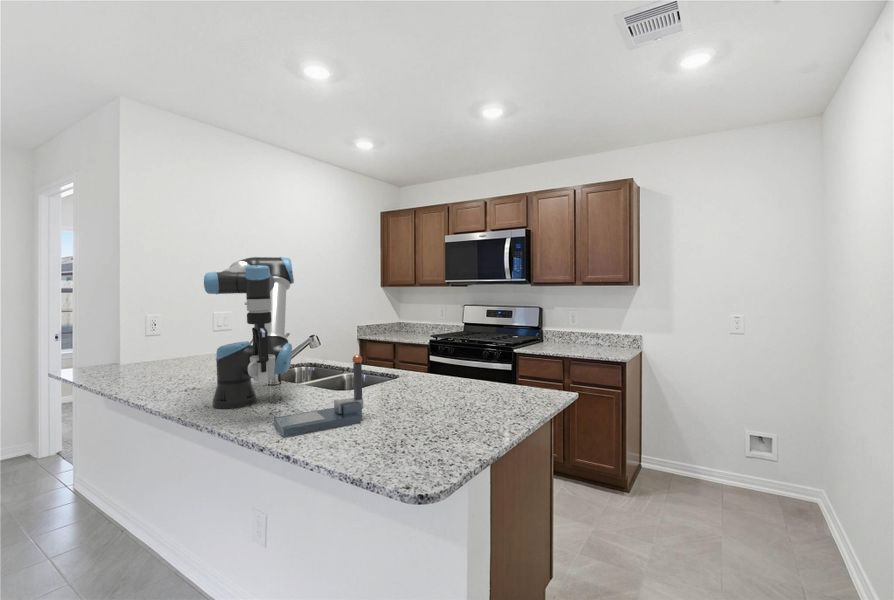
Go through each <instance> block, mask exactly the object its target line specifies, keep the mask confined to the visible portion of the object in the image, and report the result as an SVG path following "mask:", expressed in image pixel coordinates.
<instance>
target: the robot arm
mask: <svg viewBox="0 0 894 600" xmlns="http://www.w3.org/2000/svg"><path fill="white" fill-rule="evenodd" d="M293 273H294V272H293V266H292V260H291V258H289V257H283V256H279V257H278V256H277V257H273V256H272V257H270V256H269V257H267V256H265V257H262V256H261V257H260V256H259V257H258V256H253V257H252V256H251V257H247V258H243V259H240V260H237V261H234V262H233V263H231V265H230V266H229V267H228V268H227V269H224V270H222V271H220V272H219V271H212V272H207V273H205V275H204V276H203V277H204V278H203V288H204V291H205V292H206V293H207V294H209V295H211V294H212V295H222V294H223V295H224V294H225V295H228V294H230V295H231V294H232V295H233V294H246V296H245V297H246V302H244V305H245V306H246V311H247V314H246V323H247V324H248V325H254V326H253V327H252V328H251V331H252V344H251V341H246V340H245V341H237V342H232V343H228V344H224V345H221V346H219V347H218V348H216V349H217V350H216V356H215V357H216V358H215V362H216V382H217V386H216V389H215V392H214V395H213V398H212V407H213V408H215V409H236V408H242V407H247V406H250V405H253V404H255V403H256V402H257V394H256V391H255V389H254V387H253V383H252V376H250V375H249V374H248V365H249V364H250V357H251V356H255V355H259V361H257V363H258V371H259V381H258V383H266V382H269V380H268V365H267V362H268V361H269V357H268V354H270V355H275V368H274V375H278V374H285V373H287V372H288V371H289V369H290V367H291V362H292V356H293V355H292V354H293V353H292V352H293V345H292V343H290V342H289V340H288V338H287V337H285V333H286V331H285V330H286V329H285V328H286V309H287V308H286V305H287V304H286V302H287V290H289V289H290V287H291V285H292V284H294V283H295V280H294V274H293ZM263 357H265V358H263Z"/></svg>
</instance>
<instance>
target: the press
mask: <svg viewBox="0 0 894 600" xmlns="http://www.w3.org/2000/svg"><path fill="white" fill-rule="evenodd" d="M362 421H363V409H362V404H361V403H360V402H359V403H353V404H347V405H342V413H341V414H338V413H337V412H336V411H334V407H329V408H324V409H316V410H312V411H306V412H299V413H293V414H287V415H283V416H276V417H273V426H274V427H275V429H276V430H277V431H278V432H279V434H280V435H281V436H282V438H285V439H286V438H289V437H294V436H299V435H305V434H311V433H316V432H321V431H326V430H332V429H337V428H342V427H347V426H352V425H356V424H361V422H362Z"/></svg>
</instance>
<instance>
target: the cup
mask: <svg viewBox="0 0 894 600" xmlns="http://www.w3.org/2000/svg"><path fill="white" fill-rule="evenodd" d="M268 357H269V361H268V362H267V365H268V381H270V380H272V379H273V378H274V377H275V376H274V375H275V374H274V368H275V355H270V354H268ZM263 358H265V357H263ZM257 361H259V355H255V356H251V357H250V364H249V365H248V374H249V375H250V376H251V378H252V380H254V381H256V382H259V371H258V363H257Z"/></svg>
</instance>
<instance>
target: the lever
mask: <svg viewBox="0 0 894 600" xmlns="http://www.w3.org/2000/svg"><path fill="white" fill-rule="evenodd" d="M362 361H363V357H362V356H361V355H360V354H355V355H353V356H352V362H353V364H352V365H353V397H350V398H349V397H348V398H345V399H344V398H343V399H334V400H333V408H334V411H336V412H337V413H338V414H341V413H342V405H347V404H353V403H359V402H360V403H361V404H362V410H364V398H363V376H362V375H363V373H362V372H363V370H362V365H363V364H362Z"/></svg>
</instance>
